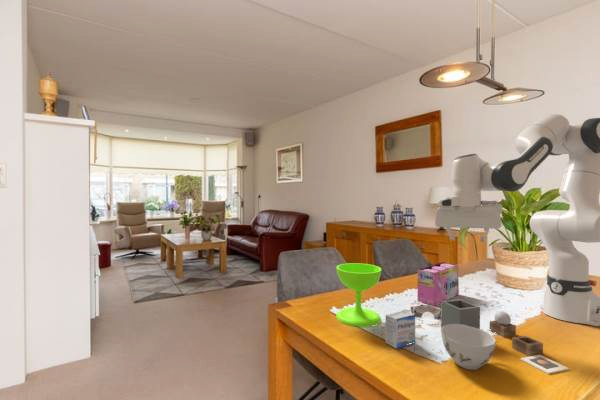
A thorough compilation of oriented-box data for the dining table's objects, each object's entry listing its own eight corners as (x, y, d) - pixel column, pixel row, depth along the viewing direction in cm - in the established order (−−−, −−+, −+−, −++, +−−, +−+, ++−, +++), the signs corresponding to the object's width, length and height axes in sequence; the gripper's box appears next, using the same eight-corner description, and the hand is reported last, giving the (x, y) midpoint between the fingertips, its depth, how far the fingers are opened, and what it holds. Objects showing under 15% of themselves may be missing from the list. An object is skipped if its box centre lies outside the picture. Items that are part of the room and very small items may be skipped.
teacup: (470, 382, 72) (470, 348, 72) (430, 356, 83) (430, 327, 83) (514, 370, 77) (514, 338, 77) (470, 347, 89) (470, 319, 89)
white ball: (501, 321, 101) (501, 308, 101) (514, 327, 97) (514, 313, 97) (491, 323, 100) (491, 309, 100) (503, 328, 96) (503, 314, 96)
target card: (539, 355, 84) (539, 353, 84) (568, 369, 77) (568, 367, 77) (520, 359, 82) (520, 357, 82) (548, 374, 75) (548, 371, 75)
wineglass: (384, 313, 114) (384, 265, 114) (376, 330, 100) (376, 275, 99) (343, 307, 121) (343, 261, 121) (329, 321, 106) (330, 270, 106)
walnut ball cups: (501, 328, 101) (501, 319, 101) (553, 352, 86) (553, 341, 86) (479, 331, 99) (479, 322, 99) (529, 356, 83) (529, 345, 83)
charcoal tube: (460, 329, 101) (460, 299, 101) (479, 339, 93) (480, 307, 93) (441, 332, 98) (441, 301, 98) (459, 342, 91) (459, 309, 91)
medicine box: (396, 349, 87) (396, 319, 87) (385, 343, 91) (385, 314, 91) (415, 343, 91) (415, 314, 91) (404, 337, 95) (404, 309, 95)
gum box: (442, 290, 144) (443, 261, 144) (460, 294, 138) (460, 264, 138) (416, 301, 128) (417, 269, 128) (435, 306, 122) (435, 272, 122)
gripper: (502, 200, 103) (502, 241, 103) (436, 201, 114) (437, 237, 114) (502, 200, 98) (503, 243, 98) (433, 201, 109) (434, 240, 109)
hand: (467, 240), depth 106 cm, fingers open, 8 cm apart
